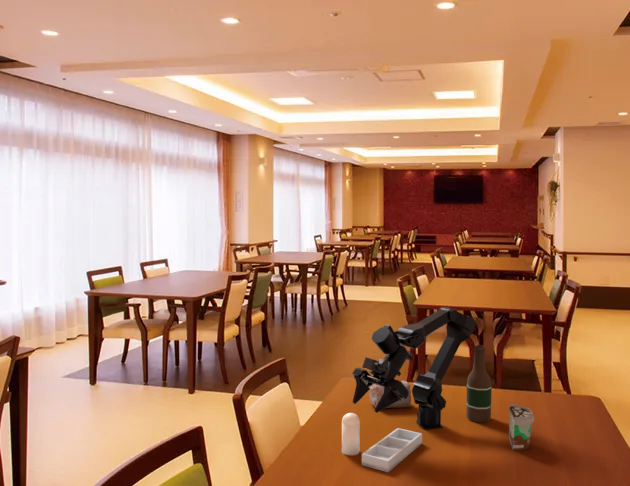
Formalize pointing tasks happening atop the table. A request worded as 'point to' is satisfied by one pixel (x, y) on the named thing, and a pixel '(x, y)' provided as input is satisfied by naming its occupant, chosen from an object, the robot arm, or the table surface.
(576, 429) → the table surface
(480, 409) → the beer bottle
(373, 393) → the food item
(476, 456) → the table surface
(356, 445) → the cream tall rounded piece
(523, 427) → the food container
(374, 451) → the white compartment tray
